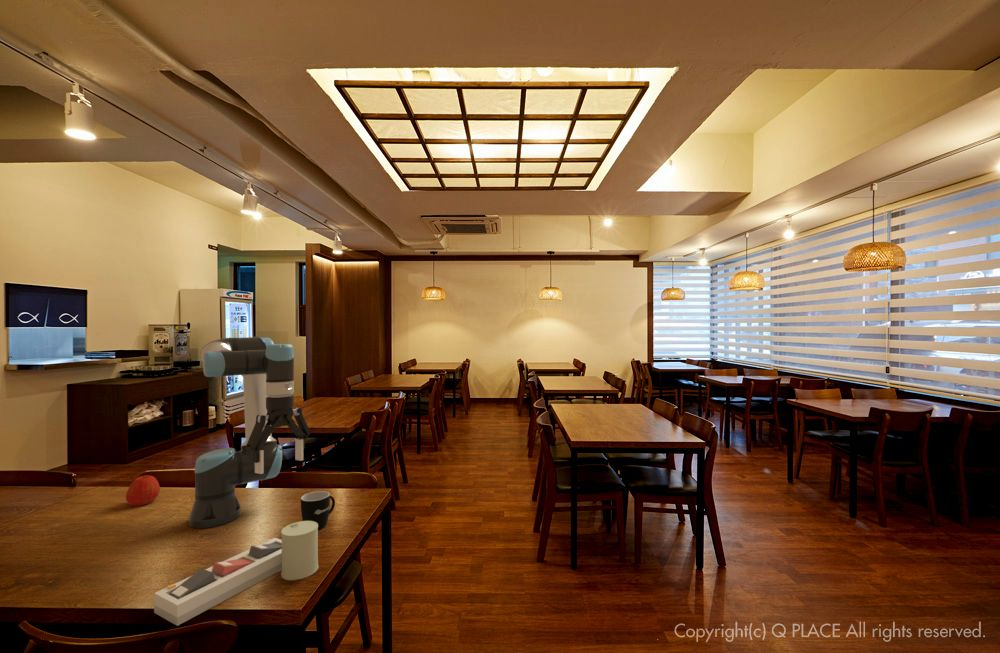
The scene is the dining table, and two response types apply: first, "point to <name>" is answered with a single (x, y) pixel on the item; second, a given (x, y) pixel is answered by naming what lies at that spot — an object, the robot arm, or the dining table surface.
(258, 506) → the dining table surface
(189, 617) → the strip
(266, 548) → the rocker
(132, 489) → the apple
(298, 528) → the can
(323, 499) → the mug
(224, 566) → the rocker mid
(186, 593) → the rocker
